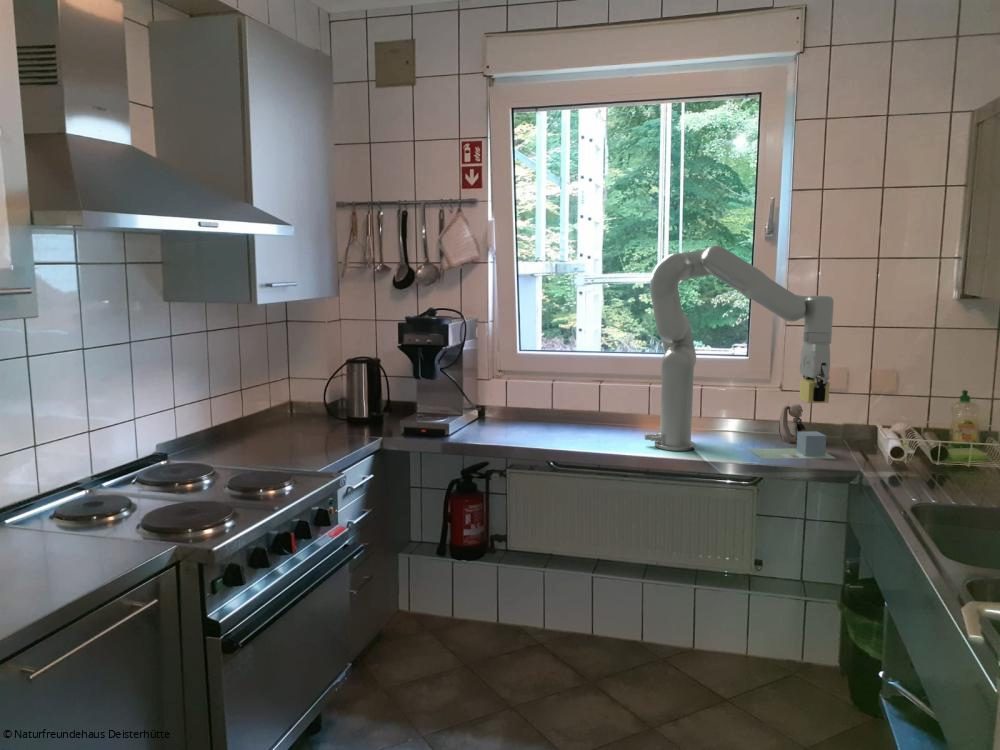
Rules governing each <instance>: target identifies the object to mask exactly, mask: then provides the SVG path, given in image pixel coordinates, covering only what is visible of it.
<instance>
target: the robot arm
mask: <svg viewBox="0 0 1000 750" xmlns="http://www.w3.org/2000/svg"><path fill="white" fill-rule="evenodd" d="M707 276H713V277H714V278H716V279H718V280H719V281H721V282H723V284H725V285H727V286H729V287H731V288H732V289H734V290H735V291H737V293H739V294H741V295H743V296H745V298H748V299H751V300H752V301H753V302H755V303H758V305H760V306H762V307H764V308H765V309H767V310H768V311H770V312H771V313H773V314H774V315H776V316H777V317H779V318H781V319H783V320H784V321H785V322H790V323H791V322H796V321H799V320H800V319H804V325H803V326H804V327H803V339H802V340H803V344H802V350H801V354H800V361H799V362H800V364H799V373H800V374H801V375H802V377H803V380H813V379H815V387H816V388H814V395H813V401H825V389H826V384H827V382H829V380H830V372H831V369H830V368H831V346H830V345H831V344H832V336H833V335H832V332H833V320H834V319H833V317H834V316H833V315H834V314H833V313H834V302H835V301H834V299H833V297H832V296H829V295H810V296H809V295H807V296H806V295H797V294H795V293H793V292H791V291H790V290H789V289H787V288H785V287H784V286H782V285H780V284H779V283H777V282H776V281H775V280H773V279H771V278H770V277H769V276H767V275H766V273H764V272H763V271H762V270H760V269H759V268H758V267H756V266H754V265H752V264H751V263H750V262H747V261H746V260H745V259H743V258H741V257H739V256H738V255H736V254H735V253H733V252H731V251H730V250H729V249H726V248H725V247H723V246H722V245H712V246H709V247H707V248H703V249H699V250H692V251H686V252H674V253H670V254H668V255H666V256H664V258H663V259H661V260H660V261H659V262H658V263H657V264H656V265H655V267H654V269H653V270H652V273H651V276H650V279H649V280H650V281H649V292H650V293H649V294H650V298H651V303H652V310H653V315H654V321H655V325H656V326H655V327H656V332H657V335H658V336H659V338H660V339H661V341H662V346H663V350H664V355H663V356H662V360H661V389H660V390H661V392H660V393H661V396H660V397H661V398H660V399H661V400H660V421H659V422H660V423H659V427H660V428H659V430H656V431H657V432H654V433H652V434H651V433H645V434H644V440H645V441H651V442H654V447H656V448H658V449H661V450H665V451H673V452H683V451H684V452H686V451H687V452H688V451H692V450H694V449H695V448H694V447H695V446H696V442H694V441H692V424H693V423H692V421H693V399H694V398H693V397H694V371H695V366H696V363H697V354H696V348H695V344H694V337H693V335H692V328H691V324H690V321H689V318H688V317H687V315H686V314H685V313H684V312H683V307H682V302H681V297H680V292H679V284H680V282H681V281H685V280H692V279H696V278H702V277H707ZM818 380H820V381H818Z"/></svg>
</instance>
